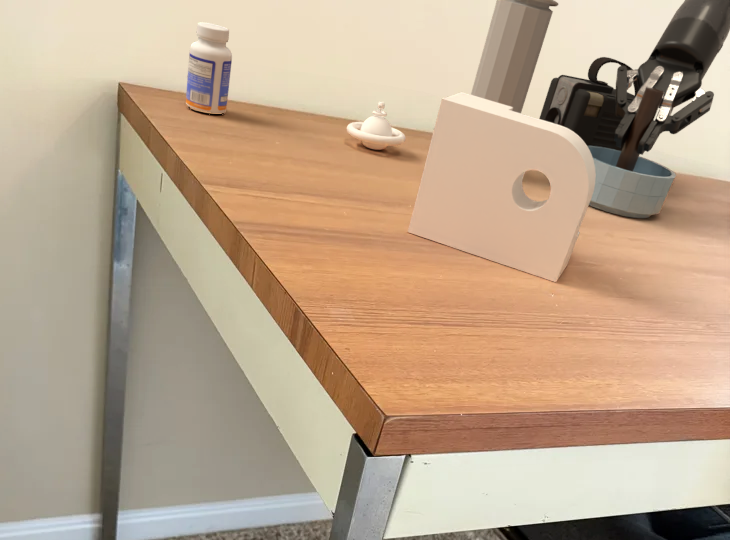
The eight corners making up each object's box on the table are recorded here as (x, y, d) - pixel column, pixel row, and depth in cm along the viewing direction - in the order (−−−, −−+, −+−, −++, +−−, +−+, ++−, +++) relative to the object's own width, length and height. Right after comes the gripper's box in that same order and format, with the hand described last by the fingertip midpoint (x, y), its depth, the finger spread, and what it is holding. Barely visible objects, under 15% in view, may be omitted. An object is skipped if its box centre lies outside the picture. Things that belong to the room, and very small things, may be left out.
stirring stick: (617, 182, 115) (655, 87, 107) (637, 192, 112) (677, 95, 105) (596, 180, 113) (633, 83, 105) (616, 191, 110) (655, 92, 103)
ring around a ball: (408, 160, 109) (395, 144, 115) (417, 113, 106) (404, 99, 112) (349, 152, 108) (340, 136, 114) (357, 104, 104) (347, 90, 110)
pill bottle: (214, 105, 112) (223, 23, 107) (233, 117, 109) (242, 33, 103) (178, 102, 110) (184, 18, 104) (195, 114, 106) (203, 28, 100)
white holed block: (407, 232, 85) (441, 98, 77) (436, 211, 93) (470, 88, 85) (555, 282, 82) (606, 148, 74) (572, 256, 90) (620, 133, 82)
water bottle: (505, 179, 112) (574, -41, 97) (449, 165, 112) (510, -57, 97) (504, 164, 119) (569, -43, 104) (451, 151, 119) (508, -58, 104)
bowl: (613, 189, 121) (629, 149, 118) (677, 222, 112) (696, 180, 109) (545, 183, 115) (559, 142, 112) (607, 218, 106) (625, 174, 103)
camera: (518, 152, 128) (553, 42, 119) (591, 162, 133) (629, 58, 124) (553, 174, 121) (593, 59, 112) (629, 184, 126) (673, 75, 117)
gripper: (645, 2, 108) (581, 110, 106) (751, 30, 103) (686, 143, 102) (638, 48, 115) (578, 149, 113) (737, 76, 110) (676, 182, 109)
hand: (629, 145), depth 108 cm, fingers closed on stirring stick, 2 cm apart
